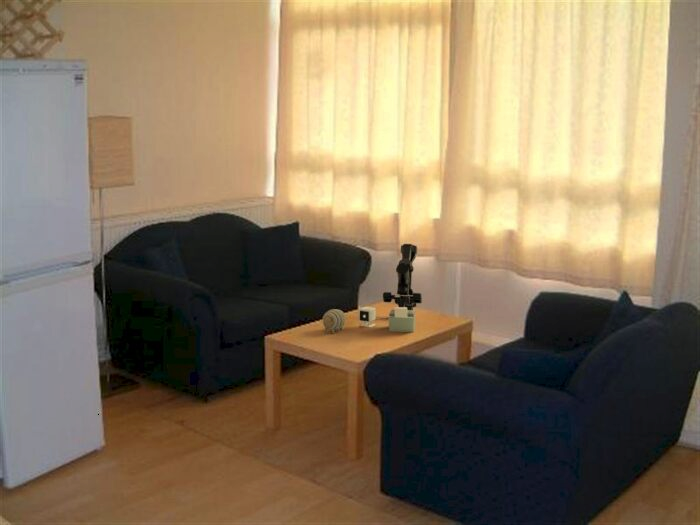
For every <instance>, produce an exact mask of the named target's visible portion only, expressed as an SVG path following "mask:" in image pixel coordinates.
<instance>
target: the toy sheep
mask: <svg viewBox="0 0 700 525" xmlns="http://www.w3.org/2000/svg"><path fill="white" fill-rule="evenodd" d="M345 323H346V315H345V313H344V311H342V310H341V309H336V308H335V309H334V308H333V309H329V310H327V311H326V312H325V313H324V314H323V316H322V324H323V326H324V333H325V332H327V333H328V330H329V331H331V334H332V335H335V332H337V331H339V330H340V331H343V327H344V326H345Z"/></svg>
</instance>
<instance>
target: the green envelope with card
mask: <svg viewBox="0 0 700 525" xmlns="http://www.w3.org/2000/svg"><path fill="white" fill-rule="evenodd" d="M394 310H395V316H389V315H388V332H398V333H399V332H400V333H414V332H415V329H414V317H407V308H405V307H399V306H397V307H396V306H395V307H394Z"/></svg>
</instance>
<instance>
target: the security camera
mask: <svg viewBox="0 0 700 525" xmlns="http://www.w3.org/2000/svg"><path fill="white" fill-rule="evenodd" d="M376 311H377V310H376V307H371V306H364V307H361V308H359V309H358V321H359V322H360V323H363V324H361V325H360V327H365V328H372V327H374V326H376V323H372V322H373V321H375V320H376Z"/></svg>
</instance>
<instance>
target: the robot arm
mask: <svg viewBox="0 0 700 525" xmlns="http://www.w3.org/2000/svg"><path fill="white" fill-rule="evenodd" d="M400 254H401V255H402V257H401V259H400V260H399V261H398V264H397V265H396V269H395V273H397V274H396V275H397V289H396V294H395V293H394V294H392V292H391V291H383V292H382V301H383V303H392V302H393V300H394V304H396V305H397V307H405V308H407V310H414V308H415V307H417V304H422V303H423V297H422V293H421V292H414V290H413V289H412V280H413V278H412V277H413V272H414V269H415V268H414V266H413V262H414V261H415V260H416V256H417V254H418V246H417V245H414V244H413V243H404V244H402V245H400Z"/></svg>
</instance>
